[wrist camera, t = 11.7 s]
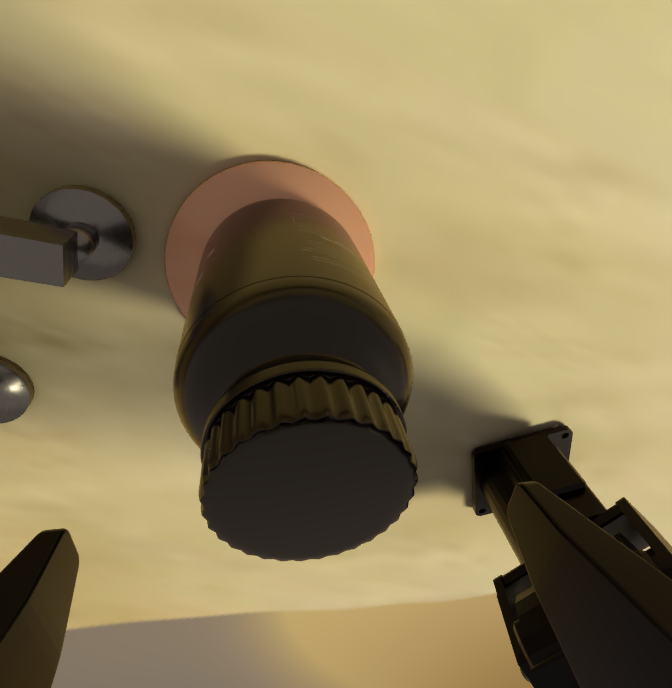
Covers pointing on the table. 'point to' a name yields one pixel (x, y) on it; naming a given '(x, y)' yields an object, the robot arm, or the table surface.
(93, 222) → the jointed grey bar linkage
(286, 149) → the table surface
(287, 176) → the peach domed disc
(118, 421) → the table surface
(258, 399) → the supplement bottle
